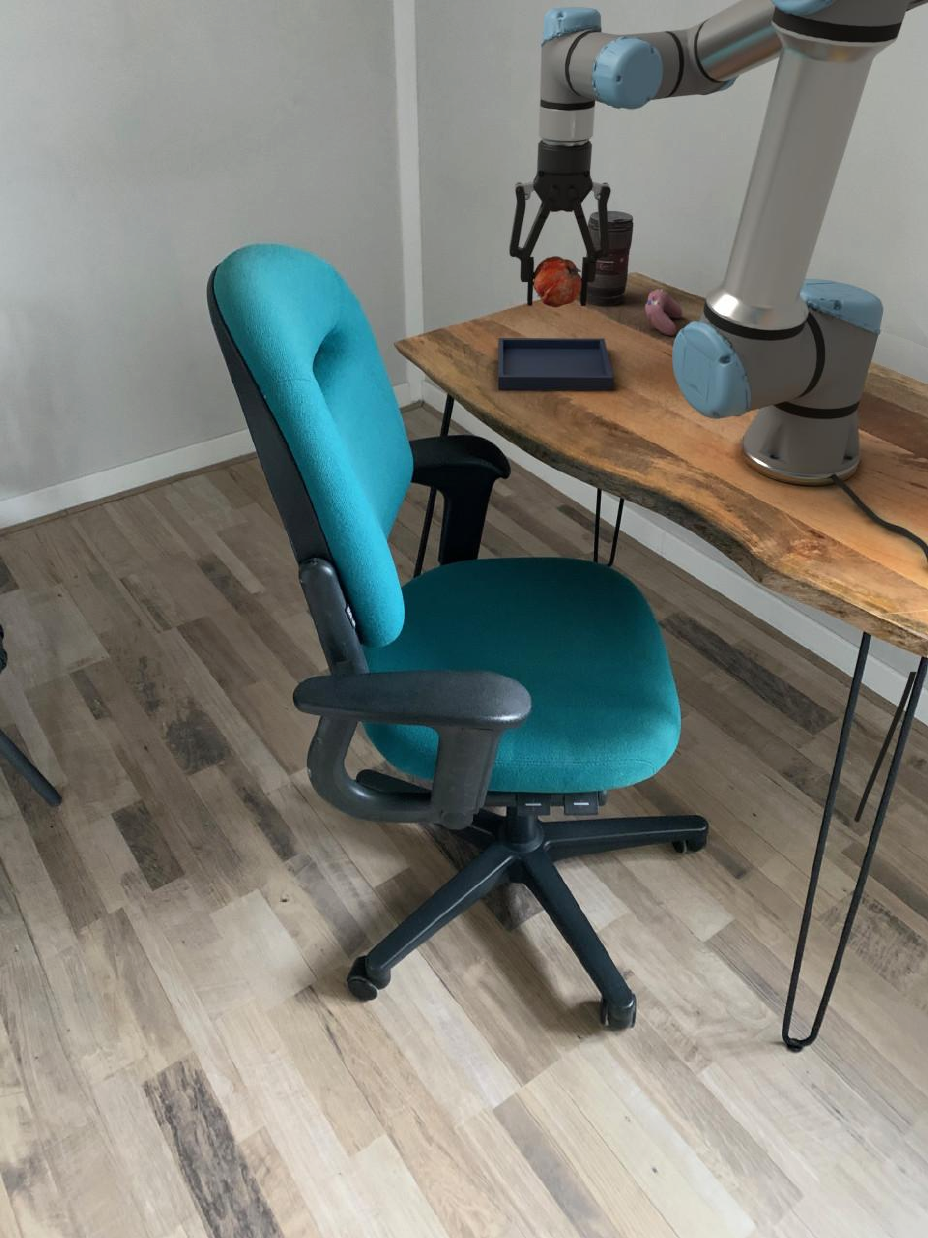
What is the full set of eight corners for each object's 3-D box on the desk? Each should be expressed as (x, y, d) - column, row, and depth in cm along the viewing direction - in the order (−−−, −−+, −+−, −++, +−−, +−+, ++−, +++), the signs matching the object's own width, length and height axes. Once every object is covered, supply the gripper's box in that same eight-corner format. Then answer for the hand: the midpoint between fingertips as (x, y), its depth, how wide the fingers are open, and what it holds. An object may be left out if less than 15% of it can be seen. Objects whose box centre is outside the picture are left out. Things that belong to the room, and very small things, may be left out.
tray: (612, 390, 146) (613, 377, 145) (498, 389, 147) (498, 376, 146) (603, 350, 159) (604, 338, 157) (498, 349, 159) (498, 337, 158)
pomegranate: (524, 319, 147) (559, 295, 138) (513, 272, 147) (548, 246, 138) (563, 315, 151) (599, 292, 142) (552, 270, 150) (588, 243, 141)
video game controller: (660, 323, 172) (647, 287, 169) (684, 314, 170) (671, 277, 167) (652, 343, 165) (637, 306, 162) (677, 334, 162) (663, 296, 159)
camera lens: (634, 301, 177) (643, 217, 167) (600, 310, 173) (607, 224, 164) (607, 288, 182) (614, 206, 173) (573, 297, 179) (579, 213, 169)
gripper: (635, 133, 135) (619, 294, 149) (492, 133, 135) (490, 293, 149) (641, 145, 129) (624, 311, 143) (492, 145, 129) (489, 311, 143)
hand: (556, 302), depth 146 cm, fingers closed on pomegranate, 7 cm apart
